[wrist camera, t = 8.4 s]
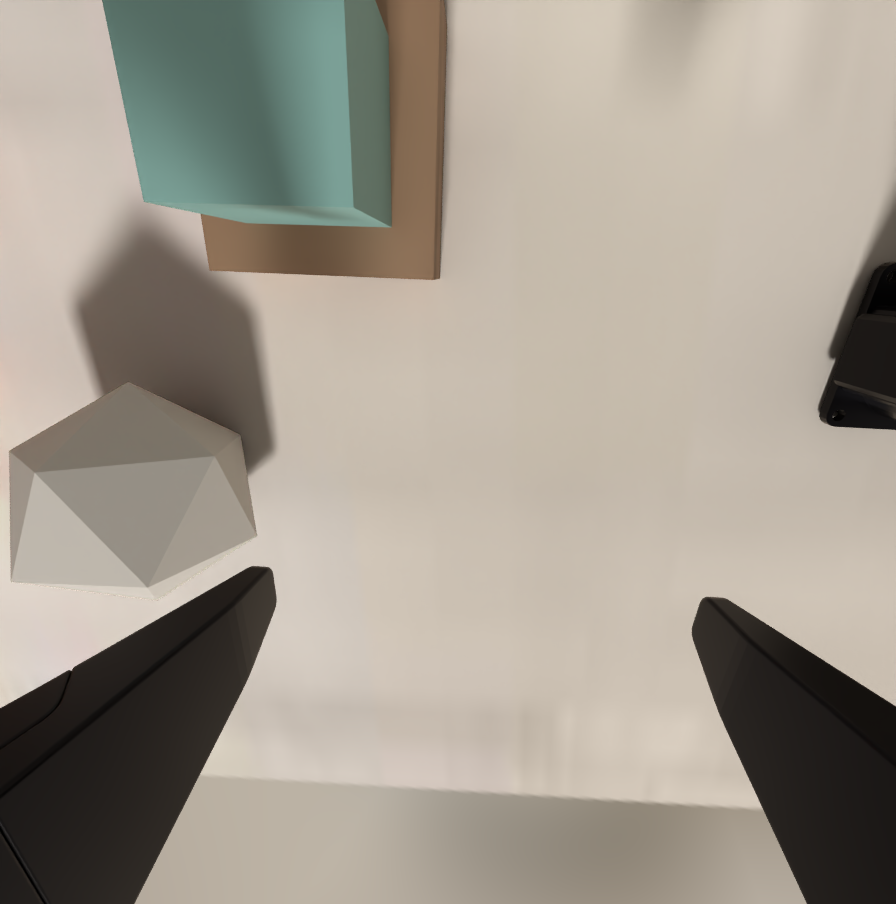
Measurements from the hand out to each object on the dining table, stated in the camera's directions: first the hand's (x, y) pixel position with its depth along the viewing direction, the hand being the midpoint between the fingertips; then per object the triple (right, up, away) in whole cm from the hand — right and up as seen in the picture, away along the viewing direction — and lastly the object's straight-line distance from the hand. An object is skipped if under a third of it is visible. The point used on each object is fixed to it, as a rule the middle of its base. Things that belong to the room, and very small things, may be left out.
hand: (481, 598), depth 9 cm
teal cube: (-5, +13, +5) cm, 15 cm away
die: (-13, +3, +13) cm, 19 cm away
